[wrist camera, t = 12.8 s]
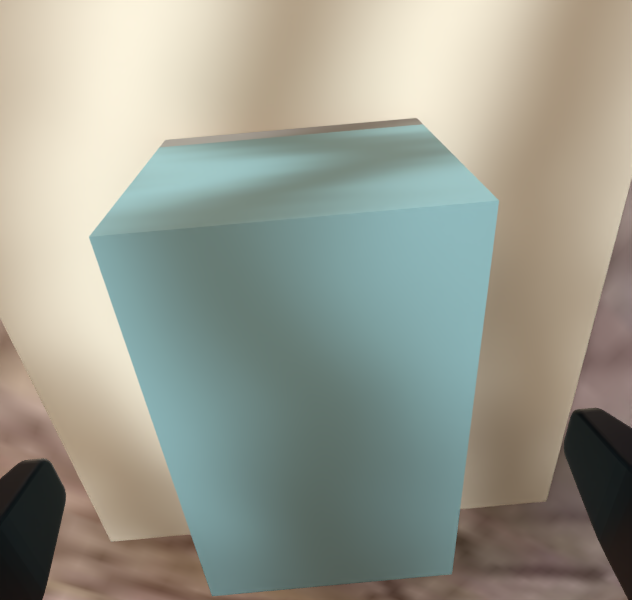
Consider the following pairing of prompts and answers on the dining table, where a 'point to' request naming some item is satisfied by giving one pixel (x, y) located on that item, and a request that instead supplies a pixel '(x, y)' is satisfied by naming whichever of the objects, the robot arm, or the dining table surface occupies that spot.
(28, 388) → the dining table surface
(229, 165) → the block
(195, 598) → the dining table surface
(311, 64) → the board
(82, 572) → the dining table surface
